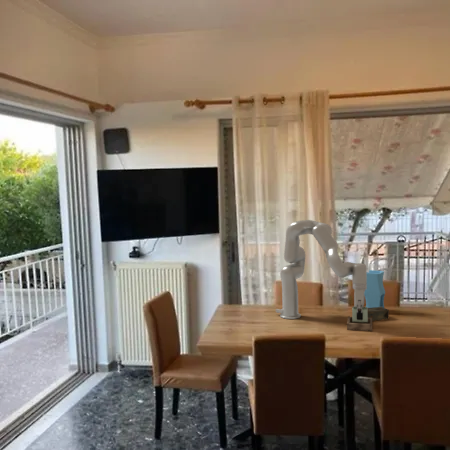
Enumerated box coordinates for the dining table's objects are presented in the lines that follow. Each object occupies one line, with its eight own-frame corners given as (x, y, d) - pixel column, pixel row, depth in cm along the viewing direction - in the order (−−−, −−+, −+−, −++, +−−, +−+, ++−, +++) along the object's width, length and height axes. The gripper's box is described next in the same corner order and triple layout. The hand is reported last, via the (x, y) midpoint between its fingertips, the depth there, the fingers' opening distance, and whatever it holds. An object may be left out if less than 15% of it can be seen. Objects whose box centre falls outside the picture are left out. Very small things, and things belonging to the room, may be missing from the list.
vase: (369, 308, 290) (369, 269, 288) (385, 310, 284) (385, 271, 282) (364, 312, 282) (364, 272, 280) (380, 314, 276) (380, 273, 274)
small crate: (352, 321, 249) (352, 309, 249) (352, 318, 255) (352, 306, 255) (367, 322, 247) (367, 309, 246) (367, 319, 253) (367, 307, 252)
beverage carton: (389, 319, 265) (389, 308, 264) (361, 323, 259) (360, 311, 259) (381, 316, 272) (380, 305, 272) (353, 319, 267) (353, 308, 266)
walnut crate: (347, 329, 247) (347, 323, 246) (348, 322, 260) (348, 316, 260) (372, 331, 243) (372, 324, 242) (372, 324, 256) (372, 318, 256)
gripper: (353, 282, 259) (353, 313, 260) (351, 288, 243) (352, 321, 244) (366, 283, 257) (367, 314, 258) (366, 289, 240) (366, 322, 241)
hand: (359, 317), depth 251 cm, fingers closed on small crate, 6 cm apart
